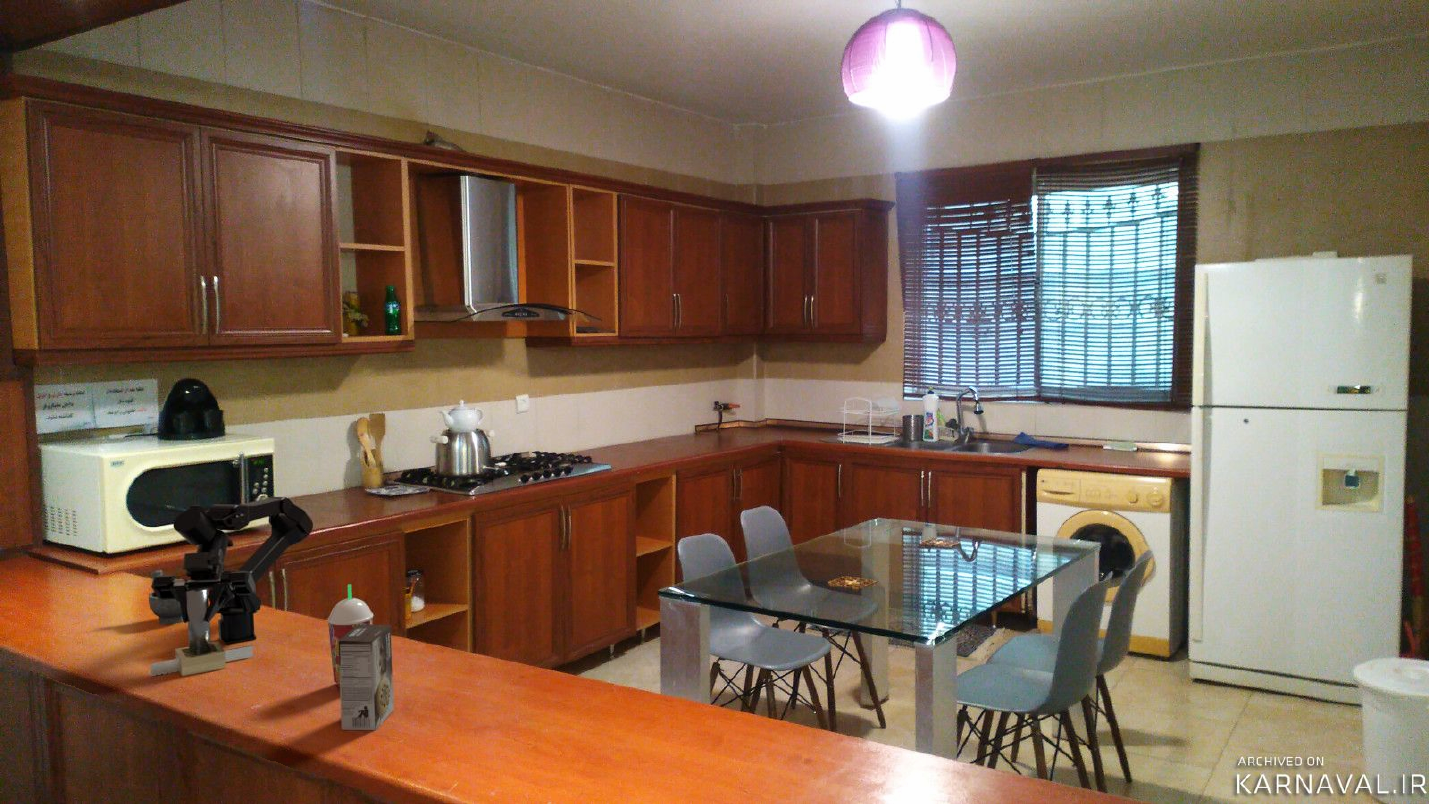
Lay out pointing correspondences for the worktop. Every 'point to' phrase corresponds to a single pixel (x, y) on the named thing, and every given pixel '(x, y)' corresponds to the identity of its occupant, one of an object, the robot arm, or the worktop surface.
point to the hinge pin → (198, 621)
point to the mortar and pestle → (165, 606)
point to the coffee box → (366, 677)
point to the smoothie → (346, 625)
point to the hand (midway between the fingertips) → (196, 621)
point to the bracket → (200, 660)
